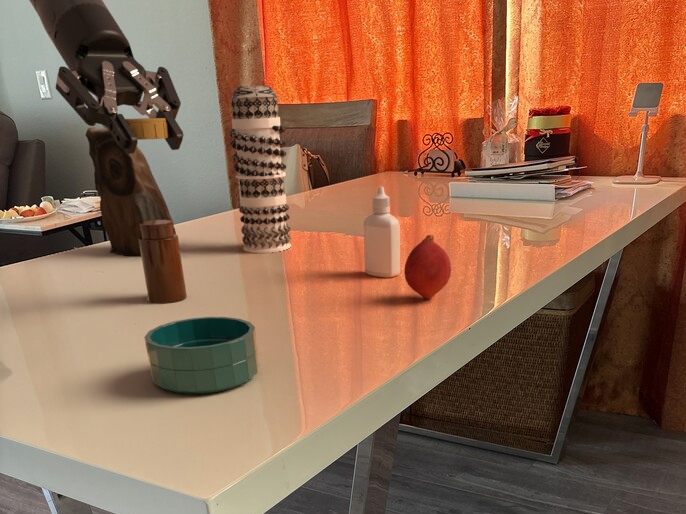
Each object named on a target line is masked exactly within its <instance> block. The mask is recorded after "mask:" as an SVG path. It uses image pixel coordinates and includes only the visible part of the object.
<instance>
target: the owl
mask: <svg viewBox="0 0 686 514" xmlns="http://www.w3.org/2000/svg"><path fill="white" fill-rule="evenodd" d="M85 137H86V139H87V142H88V152H89V153H88V155H89V157H90V158H91V161H92V164H93V168H94V173H93V177H94V185H95V186H94V188H95V191H96V192H97V194H98V195H99V199H100V201H99V210H100V214H101V222H102V225H103V228H104V230H105V233H106V235H107V237H108V241H109V243H110V250H109V252H110V253H112V254H113V253H114V254H116V255H123V256H124V257H141V252H140V246H139V240H138V238H139V237H142V234H141V230H140V223H141V222H145V221H151V220H170V221H172V222H173V224H172V227H173V234H176V235H177V231H176V228H175V226H174V225H175V224H174V219H172V216H171V213H170V209H169V208H168V205H167V203H166V200H165V198H164V196H163V194H162V192H161V189H160V187H159V185H158V184H157V181H156V179H155V177H154V175H153V172H152V170H151V166H150V164H149V162H148V160H147V159H146V156H145V154H144V153H143V152H142V150H141V149H140V148H139V146H138V145H137V146H136V149H135V152H134V153H132V154H127V153H126V152H125V150H124V149H122V148H120V147H119V146H118V144H117V142H116V141H115V139H114V138H113V136H112V134H111V133H110V131H109V130H108V129H106V128H104V127H102V128H95V127H88V128H87V129H86V132H85Z"/></svg>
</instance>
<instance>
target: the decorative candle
mask: <svg viewBox="0 0 686 514" xmlns="http://www.w3.org/2000/svg"><path fill="white" fill-rule="evenodd" d="M230 103H231V106H230V107H231V113H232V114H231V115H232V118H231V129H230V130H229V132H228V135H229V136H230V137H231V139H233V140H231V141H230V142H229V144H230V147H231V148H233V149H234V150H236V151H235V152H234V153H233V155H232V160H233V161H234V162H235V164H234V165H233V170H234V171H235V172H237V173H236V175H235V178H236V179H238V182H239V191H240V196H239V203H240V206H239V208H238V210H239V213H241V214H242V216H240V218H239V221H240V222H241V223H243V225H242V227H241V228H240V231H241V233H242V235H243V236H242V239H241V240H242V243H243V244H244V246H243V251H244V252H246V253H252V254H271V253H272V252H273V253H280V252H279V251H281V252H284V251H283V250H285V251H287V250H286V249H288V248H290V247H291V248H292V244H291V243H290V242H291V240H292V236H291V234H290V233H289V232H290V231H291V229H292V228H291V226H290V224H289V223H288V222H287V221H288V220H290V217H291V216H290V215H289V214H288V213H286V212H287V211H288V210H289V209H290V207H289V205H288V204H287V193H286V191H285V179H284V178H285V177H286V176H287V174H286V171H285V170H286V169H287V165H286V164H284V163H283V161H282V159H283V158H284V157H285V156H286V155H287V152H286V150H285V151H284V149H282V148H284V147H285V146H286V141H285V140H283V139H282V138H281V135H282V134H284V133H285V132H286V128H285V127H284V126H282V125H281V117H280V116H279V114H280V113H279V100H278V95H277V94H276V93H275V91H274V89H273V88H272V87H271V86H270V85H247V86H246V85H245V86H242V85H241V86H237V87H235V88H234V90H233V93H232V95H231V97H230ZM291 248H290V249H291ZM288 250H289V249H288Z"/></svg>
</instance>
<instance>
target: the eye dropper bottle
mask: <svg viewBox="0 0 686 514" xmlns="http://www.w3.org/2000/svg"><path fill="white" fill-rule="evenodd" d="M390 198H391V197H390V196H388V195H387V194H386V193H385V189H384V186H383V185H382V186H381V185H380V186H377V193H376V195H374V196H373V197H371V199H372V200H371V202H372V214H371V215H368V216H366V217H365V218H364V221H363V251H364V252H363V254H364V272H365V274H367V275H369V276H372V277H376V278H377V277H378V278H385V279H386V278H389V279H390V278H394V277H398V276H400V274H401V226H400V221H399V220H398V218H396V217H395V216H394V215H393V214H391V213H390V212H391V199H390Z"/></svg>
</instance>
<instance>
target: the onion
mask: <svg viewBox="0 0 686 514" xmlns="http://www.w3.org/2000/svg"><path fill="white" fill-rule="evenodd" d="M403 270H404V271H403V272H404V279H405V281H406V283H407V285H408V286H409V287H410V288H411V289H412V290H413V291H414V292H416V293H417V294H418V295H420V296H421V297H422V298H423V299H425V300H432V299H433V298H434V297H435V296H436V295H437V294H438V293H439V292H441V291H442V290H443V289H444V288H445V287H446V286H447V284H448V282H449V280H450V278H451V273H452V263H451V260H450V257H449V255H448V253H447V252H446V250H445V249H444V248H443V247H441V246H440V245H439V244H438V243H436V242H435V235H434V234H433V233H429V234H426V236H425V238H423V239H422V240H421V242H419V243H418V244H417V245H415V246H414V247H413V248H412V250H411V251H410V253H409V254H408V256H407V258H406V261H405V264H404V269H403Z"/></svg>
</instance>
